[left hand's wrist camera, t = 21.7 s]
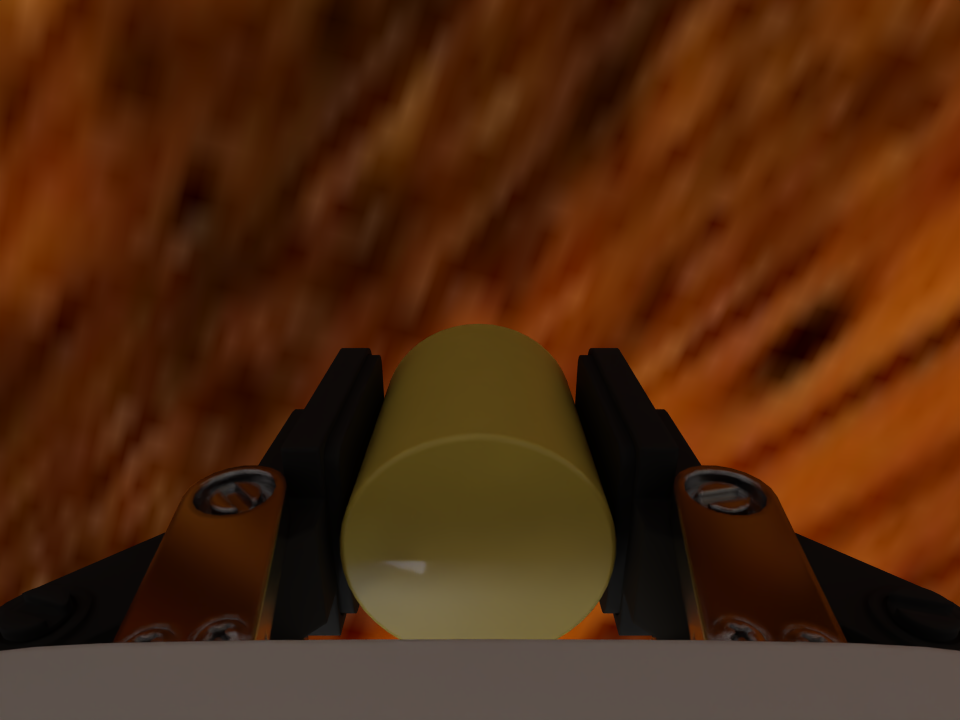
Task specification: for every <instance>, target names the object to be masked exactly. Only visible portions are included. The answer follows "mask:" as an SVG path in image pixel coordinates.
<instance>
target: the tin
mask: <svg viewBox="0 0 960 720" xmlns="http://www.w3.org/2000/svg"><path fill="white" fill-rule="evenodd" d="M339 542H340V558H341V563H342V568H343V572H344V574H345V577H346V580H347V583H348V586H349V587H350V589H351V591H352V593H353V595H354V597H355V599H356V600H357V601H358V603H359V604H360V605H361V607H362V608H363V610H364V611H365V612H366V613H367V614H368V615H369V616H370V617H371V618H372V619H373V620H374V621H375V622H376V623H377V624H379V625H380V626H381V627H382V628H383V629H385V630H386V631H387V632H389V633H391V634H392V635H394V636H395V637H397V638H398V639H400V640H410V639H550V640H556V639H558V638H559V637H561V636H563V635H564V634H566V633H567V632H569V631H570V630H572V629H573V628H574V627H575V626H576V625H578V624H579V623H580V622H581V621H582V620H583V619H584V618H585V617H586V616H587V615H588V614H589V613H590V612H591V611H592V610H593V608H594V607H595V606H596V604H597V603H598V602H599V600H600V599H601V597H602V595H603V593H604V591H605V590H606V588H607V586H608V583H609V580H610V578H611V575H612V572H613V569H614V563H615V558H616V543H617V539H616V532H615V525H614V521H613V518H612V515H611V512H610V508H609V505H608V502H607V499H606V496H605V493H604V490H603V487H602V485H601V481H600V479H599V476H598V473H597V470H596V467H595V464H594V461H593V458H592V455H591V452H590V449H589V446H588V443H587V440H586V437H585V434H584V431H583V428H582V425H581V422H580V419H579V416H578V413H577V410H576V407H575V404H574V401H573V398H572V395H571V392H570V389H569V386H568V383H567V380H566V378H565V375H564V373H563V371H562V369H561V368H560V366H559V365H558V363H557V362H556V360H555V359H554V358H553V357H552V356H551V355H550V353H549V352H548V351H547V350H545V349H544V348H543V347H542V346H541V345H540V344H538V343H537V342H535V341H534V340H532V339H531V338H529V337H528V336H526V335H523V334H521V333H519V332H517V331H514V330H511V329H508V328H505V327H501V326H495V325H487V324H470V325H462V326H457V327H452V328H449V329H446V330H443V331H440V332H438V333H436V334H434V335H432V336H430V337H428V338H426V339H425V340H423V341H422V342H420V343H419V344H418V345H417V346H415V347H414V348H413V349H412V350H411V351H410V352H409V353H408V354H407V355H406V356H405V357H404V358H403V359H402V361H401V362H400V364H399V365H398V367H397V368H396V370H395V372H394V374H393V376H392V378H391V381H390V384H389V386H388V389H387V392H386V395H385V398H384V401H383V404H382V407H381V410H380V413H379V415H378V418H377V421H376V424H375V427H374V430H373V433H372V436H371V439H370V442H369V444H368V447H367V450H366V453H365V456H364V459H363V462H362V465H361V468H360V471H359V473H358V476H357V479H356V482H355V485H354V488H353V491H352V494H351V497H350V500H349V502H348V505H347V508H346V511H345V515H344V518H343V521H342V524H341V531H340V539H339Z"/></svg>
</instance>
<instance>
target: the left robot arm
mask: <svg viewBox="0 0 960 720" xmlns="http://www.w3.org/2000/svg"><path fill="white" fill-rule="evenodd" d="M383 401H384V389H383V374H382V361H381V357H380V355H372V354H371V350H370V349H369V348H342V349H341V350H340V351H339V353H338V355H337V356H336V358H335V359H334V361H333V363H332V364H331V366H330V368H329V369H328V371H327V373H326V374H325V376H324V378H323V379H322V381H321V383H320V384H319V386H318V387H317V389H316V391H315V392H314V394H313V396H312V397H311V399H310V401H309V402H308V404H307V406H306V407H305V409H295V410H294V411H293V412H292V414H291V415H290V417H289V418H288V420H287V421H286V423H285V425H284V426H283V428H282V429H281V431H280V432H279V434H278V435H277V437H276V439H275V440H274V442H273V443H272V445H271V446H270V448H269V449H268V451H267V453H266V454H265V456H264V457H263V459H262V460H261V462H260V464H259V465H254V466H239V467H233V468H228V469H225V470H222V471H218V472H215V473H213V474H211V475H209V476H207V477H205V478H203V479H201V480H199V481H198V482H196V483H195V484H194V485H192V486H191V487H190V488H189V489H188V490H187V492H186V493H185V494H184V496H183V497H182V499H181V501H180V503H179V505H178V507H177V510H176V512H175V514H174V516H173V518H172V520H171V522H170V524H169V526H168V528H167V530H166V532H165V533H163V534H161V535H158V536H156V537H154V538H151V539H149V540H147V541H144V542H142V543H140V544H137V545H135V546H133V547H130V548H128V549H126V550H123V551H121V552H119V553H116V554H114V555H112V556H110V557H107V558H105V559H103V560H100V561H98V562H96V563H93V564H91V565H89V566H86V567H84V568H82V569H79V570H77V571H75V572H72V573H70V574H68V575H65V576H63V577H61V578H58V579H56V580H54V581H51V582H49V583H47V584H44V585H42V586H40V587H38V588H34V589H32V590H29V591H27V592H24V593H22V595H20V596H18V597H16V598H14V599H12V600H11V601H9V602H7V603H5V604H4V605H2V606H1V607H0V720H960V607H959V606H957V605H956V604H954V603H953V602H951V601H949V600H947V599H946V598H944V597H943V596H941V595H939V594H937V593H935V592H933V591H931V590H928V589H925V588H922V587H920V586H918V585H915V584H913V583H911V582H908V581H906V580H904V579H901V578H899V577H897V576H894V575H892V574H890V573H887V572H885V571H883V570H880V569H878V568H876V567H873V566H871V565H869V564H866V563H864V562H862V561H859V560H857V559H855V558H853V557H850V556H848V555H846V554H843V553H841V552H839V551H836V550H834V549H832V548H829V547H827V546H825V545H822V544H820V543H818V542H815V541H813V540H811V539H808V538H806V537H804V536H801V535H799V534H797V533H795V532H794V530H793V528H792V526H791V524H790V522H789V520H788V518H787V516H786V514H785V512H784V510H783V507H782V505H781V503H780V501H779V499H778V497H777V496H776V494H775V493H774V492H773V490H772V489H771V488H770V487H769V486H768V485H766V484H765V483H764V482H762V481H761V480H759V479H757V478H755V477H753V476H751V475H749V474H747V473H745V472H742V471H738V470H735V469H732V468H727V467H721V466H706V465H701V464H700V462H699V461H698V459H697V458H696V456H695V455H694V453H693V452H692V450H691V448H690V447H689V445H688V444H687V442H686V441H685V439H684V438H683V436H682V434H681V433H680V431H679V430H678V428H677V427H676V425H675V424H674V422H673V420H672V419H671V417H670V416H669V414H668V413H667V412H666V411H665V410H664V409H655V408H654V406H653V405H652V403H651V401H650V400H649V398H648V396H647V395H646V393H645V391H644V390H643V388H642V386H641V385H640V383H639V381H638V380H637V378H636V377H635V375H634V373H633V372H632V370H631V368H630V367H629V365H628V363H627V362H626V360H625V358H624V357H623V355H622V353H621V352H620V350H619V349H618V348H590V349H589V352H588V355H580V356H579V359H578V369H577V384H576V399H575V407H576V410H577V413H578V416H579V419H580V422H581V425H582V428H583V431H584V434H585V437H586V440H587V443H588V446H589V449H590V452H591V455H592V458H593V461H594V464H595V467H596V470H597V473H598V476H599V479H600V481H601V485H602V487H603V490H604V493H605V496H606V499H607V502H608V505H609V508H610V512H611V515H612V518H613V521H614V525H615V532H616V539H617V543H616V558H615V563H614V569H613V572H612V575H611V578H610V580H609V583H608V586H607V588H606V590H605V591H604V593H603V595H602V597H601V599H600V600H599V601H600V605H601V609H602V612H603V613H613V615H614V618H615V622H616V626H617V629H618V633H619V635H652V639H651V640H550V639H410V640H309V639H308V635H341V632H342V628H343V625H344V621H345V617H346V613H357V611H358V608H359V603H358V601H357V600H356V599H355V597H354V595H353V593H352V591H351V589H350V587H349V586H348V583H347V580H346V577H345V574H344V572H343V568H342V563H341V558H340V542H339V539H340V531H341V524H342V521H343V518H344V515H345V511H346V508H347V505H348V502H349V500H350V497H351V494H352V491H353V488H354V485H355V482H356V479H357V476H358V473H359V471H360V468H361V465H362V462H363V459H364V456H365V453H366V450H367V447H368V444H369V442H370V439H371V436H372V433H373V430H374V427H375V424H376V421H377V418H378V415H379V413H380V410H381V407H382V404H383Z"/></svg>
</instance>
